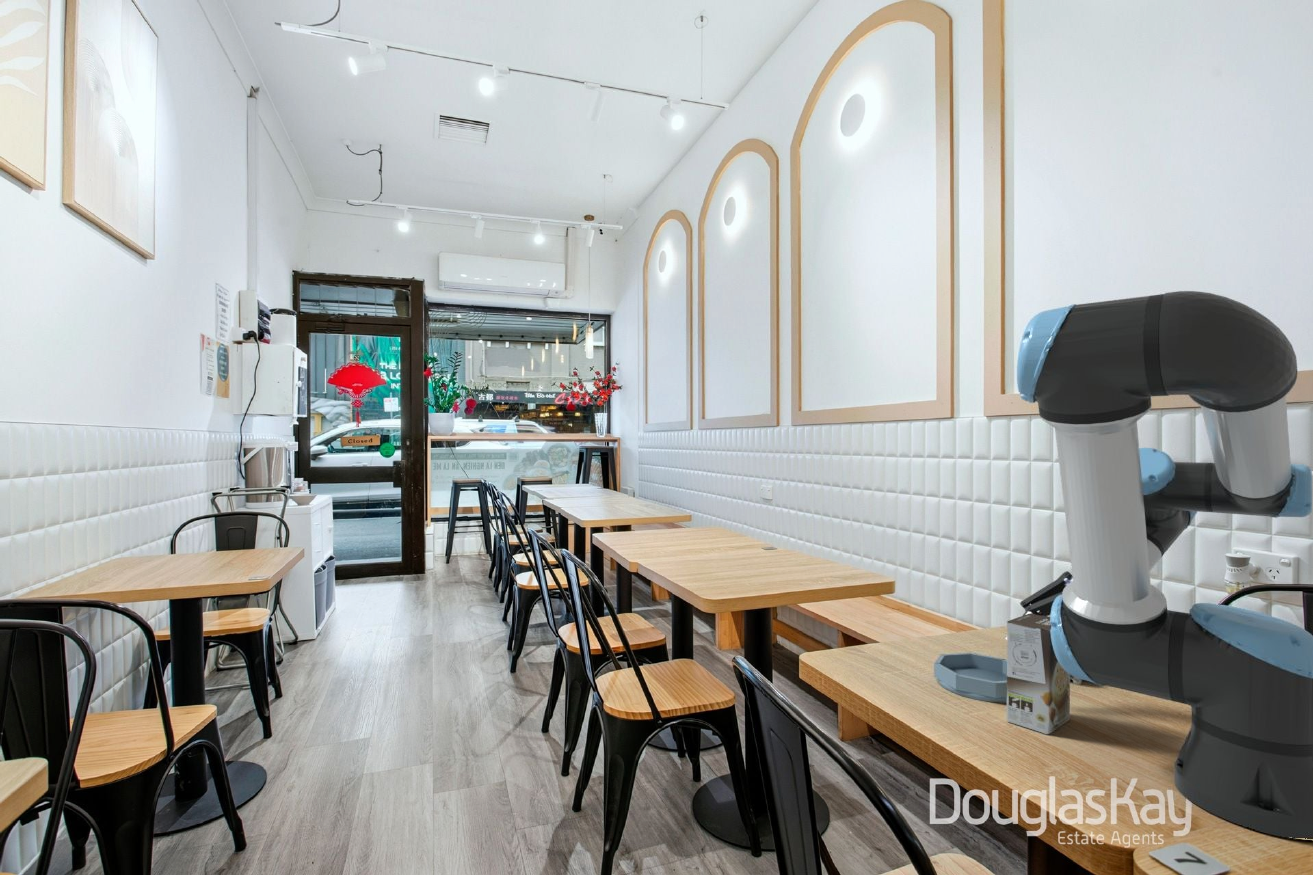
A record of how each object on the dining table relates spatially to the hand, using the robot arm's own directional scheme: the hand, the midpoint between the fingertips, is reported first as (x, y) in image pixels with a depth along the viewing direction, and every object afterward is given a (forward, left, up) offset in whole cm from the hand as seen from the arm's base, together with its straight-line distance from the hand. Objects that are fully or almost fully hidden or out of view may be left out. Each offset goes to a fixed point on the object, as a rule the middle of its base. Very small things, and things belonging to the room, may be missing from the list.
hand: (1042, 658), depth 101 cm
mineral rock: (+16, -23, -10) cm, 30 cm away
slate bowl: (+14, 0, -10) cm, 17 cm away
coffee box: (-1, +1, -10) cm, 10 cm away
